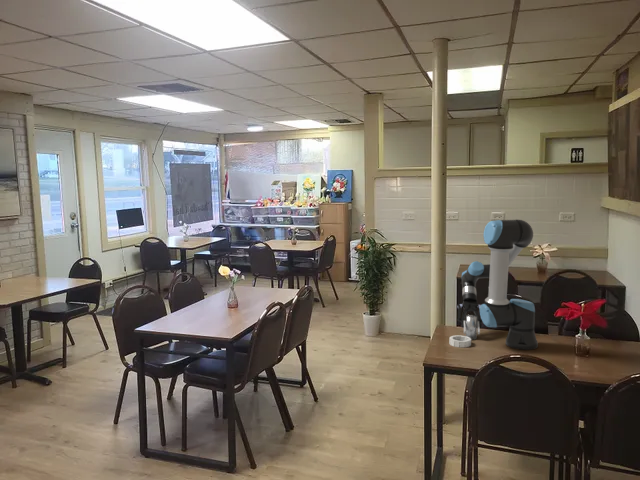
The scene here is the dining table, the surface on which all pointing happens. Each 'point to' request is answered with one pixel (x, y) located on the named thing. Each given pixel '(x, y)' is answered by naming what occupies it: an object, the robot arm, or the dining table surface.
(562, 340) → the dining table surface
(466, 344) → the socket
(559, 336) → the dining table surface
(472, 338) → the metal cylinder
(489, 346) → the dining table surface
